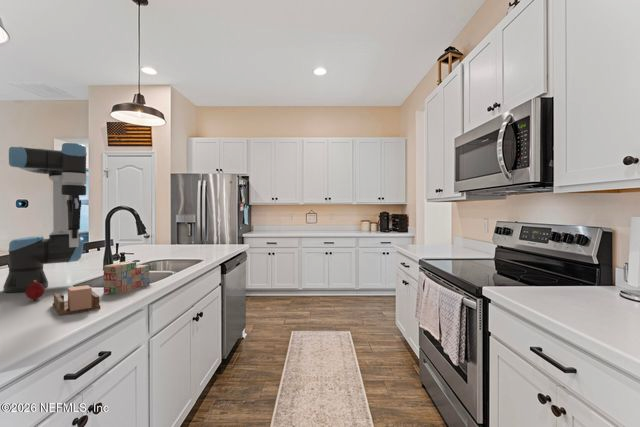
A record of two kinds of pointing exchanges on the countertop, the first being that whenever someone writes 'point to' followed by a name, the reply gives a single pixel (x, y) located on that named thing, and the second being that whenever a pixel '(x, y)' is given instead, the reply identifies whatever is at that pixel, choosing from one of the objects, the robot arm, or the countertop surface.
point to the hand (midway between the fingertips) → (73, 246)
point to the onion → (34, 290)
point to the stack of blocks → (124, 277)
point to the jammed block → (79, 298)
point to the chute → (62, 305)
